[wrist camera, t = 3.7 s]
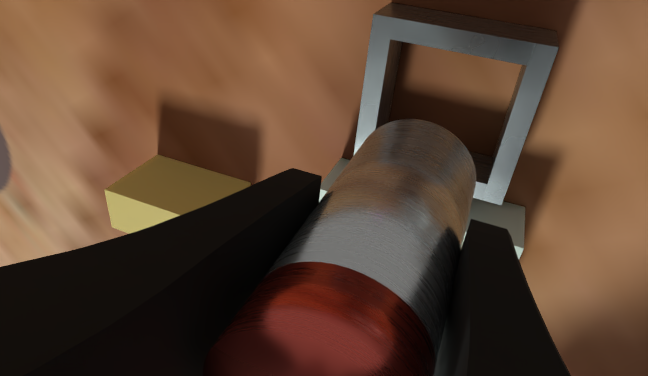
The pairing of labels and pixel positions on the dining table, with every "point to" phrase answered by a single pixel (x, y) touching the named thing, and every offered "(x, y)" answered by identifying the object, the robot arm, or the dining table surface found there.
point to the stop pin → (363, 267)
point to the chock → (164, 192)
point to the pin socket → (469, 38)
